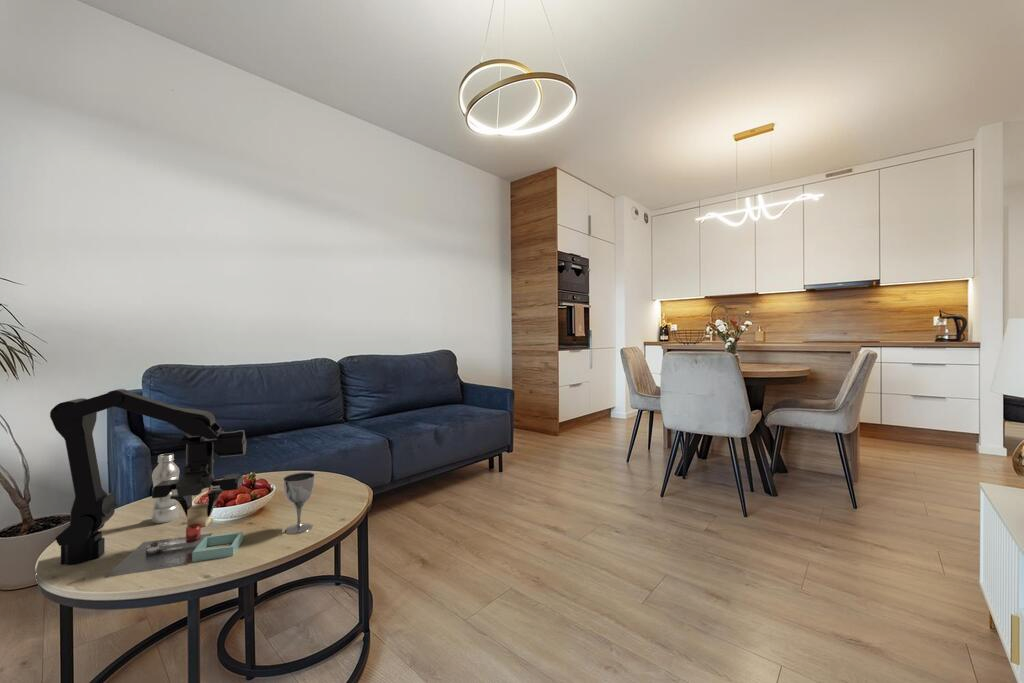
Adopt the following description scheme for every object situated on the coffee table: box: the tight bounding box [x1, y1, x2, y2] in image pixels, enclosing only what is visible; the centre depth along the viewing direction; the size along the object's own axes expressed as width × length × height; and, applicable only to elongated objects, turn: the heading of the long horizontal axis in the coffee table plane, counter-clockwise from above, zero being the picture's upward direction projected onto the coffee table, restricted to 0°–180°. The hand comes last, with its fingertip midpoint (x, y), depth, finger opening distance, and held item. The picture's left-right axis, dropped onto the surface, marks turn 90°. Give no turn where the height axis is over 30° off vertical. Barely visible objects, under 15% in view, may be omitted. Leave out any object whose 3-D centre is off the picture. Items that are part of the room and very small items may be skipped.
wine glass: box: [282, 471, 315, 535], centre depth 116 cm, size 8×8×15 cm
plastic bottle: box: [150, 452, 180, 525], centre depth 120 cm, size 6×7×20 cm
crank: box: [146, 524, 202, 554], centre depth 103 cm, size 11×3×5 cm, turn 113°
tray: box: [191, 531, 244, 563], centre depth 103 cm, size 8×8×3 cm
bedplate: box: [104, 532, 214, 578], centre depth 101 cm, size 15×17×1 cm
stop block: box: [186, 502, 212, 529], centre depth 108 cm, size 4×4×5 cm
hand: (199, 517), depth 108 cm, fingers closed on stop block, 4 cm apart
